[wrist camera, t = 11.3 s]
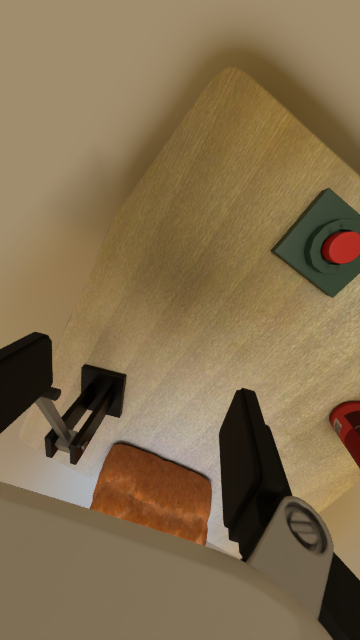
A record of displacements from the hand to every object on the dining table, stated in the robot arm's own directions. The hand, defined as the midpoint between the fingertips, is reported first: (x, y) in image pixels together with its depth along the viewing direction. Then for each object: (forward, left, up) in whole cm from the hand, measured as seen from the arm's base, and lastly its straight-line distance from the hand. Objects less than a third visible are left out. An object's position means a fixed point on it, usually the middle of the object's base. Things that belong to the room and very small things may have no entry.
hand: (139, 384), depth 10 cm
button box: (+2, +20, -25) cm, 32 cm away
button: (+2, +20, -22) cm, 29 cm away
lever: (+8, -21, -12) cm, 25 cm away
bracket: (+14, -26, -25) cm, 38 cm away
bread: (+41, -26, -25) cm, 55 cm away
